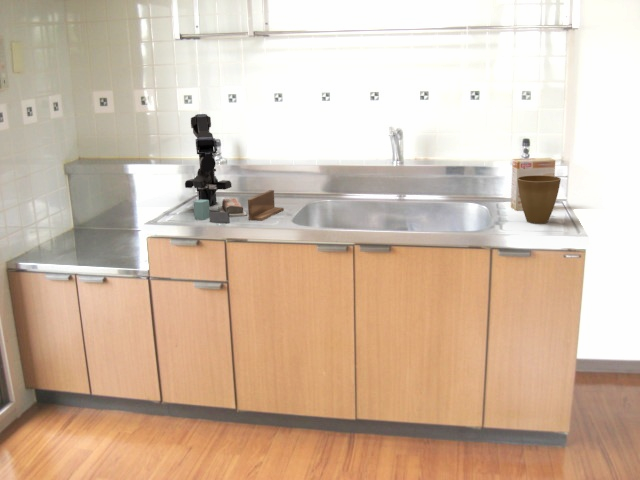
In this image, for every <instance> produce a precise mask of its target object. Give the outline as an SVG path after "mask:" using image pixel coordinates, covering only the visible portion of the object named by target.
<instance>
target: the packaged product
mask: <svg viewBox="0 0 640 480" xmlns="http://www.w3.org/2000/svg"><path fill="white" fill-rule="evenodd" d="M217 208H218V210H219V211H218V212H229V217H230V218H236V217H238V218H239V217H247V216H248V214H247V213H248V212H246V210H245V209H244V207H243V205H242V204H241V201H240V200H239V199H238V198H224V199H222V201H221V205H218V207H217Z"/></svg>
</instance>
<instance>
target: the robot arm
mask: <svg viewBox="0 0 640 480" xmlns="http://www.w3.org/2000/svg"><path fill="white" fill-rule="evenodd" d="M211 121H212V120H211V116H210V115H208V114H206V113H202V114H201V113H199V114H198V113H197V114H195V115H194V116H193V117H190V128H191V129H192V133H193V135H194V136H195V137H196V139H195V149H196V155H198V158H199V159H198V161H199V168H198V170H197V173H196V174H197V175H196V176H195V177H194V178H191V179H190V178H189V179H186V180H185V182H184V187H185V188H187V189H188V188H189V189H192V188H194V189H195V190H196V192H198V200H209V207H212V206H214V205H217V204H218V202H217V191H218V190H224V191H225V190H228V189H230V188H232V182H231V180H225V179H222V180H218V178H217V176H216V175H215V173H216V172H217V168H215V167H216V164H217V163H216V160H215V158H214V154H215V155H216V154H217V152H218V143H217V142H218V141H217V140H216V138H214V135H213V133H212V132H210V128H212V122H211Z"/></svg>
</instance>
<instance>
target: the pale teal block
mask: <svg viewBox="0 0 640 480" xmlns="http://www.w3.org/2000/svg"><path fill="white" fill-rule="evenodd" d="M210 211H211V210H210V206H209V200H199V199H197V200H195V201H193V217H194V220H196V221H206V220H208V219H210V218H209V212H210Z"/></svg>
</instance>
